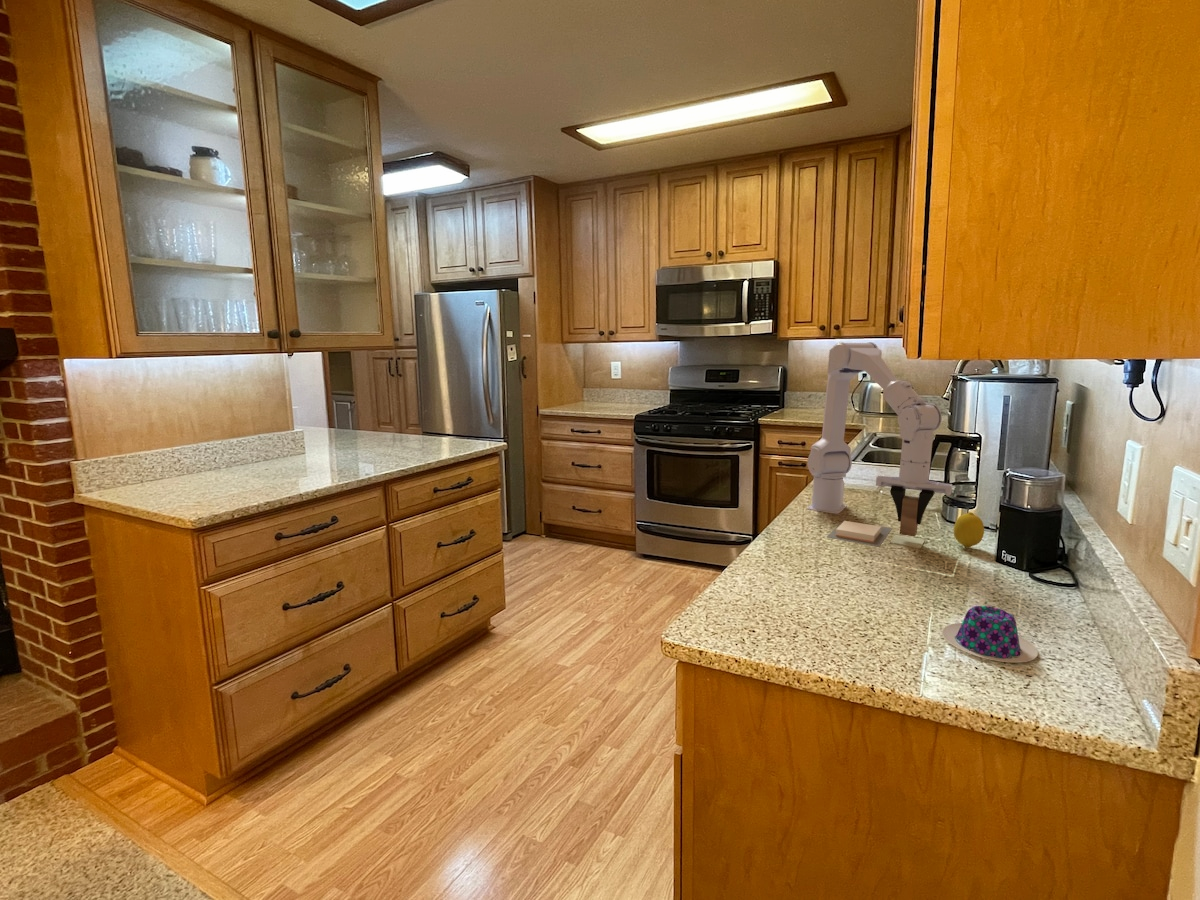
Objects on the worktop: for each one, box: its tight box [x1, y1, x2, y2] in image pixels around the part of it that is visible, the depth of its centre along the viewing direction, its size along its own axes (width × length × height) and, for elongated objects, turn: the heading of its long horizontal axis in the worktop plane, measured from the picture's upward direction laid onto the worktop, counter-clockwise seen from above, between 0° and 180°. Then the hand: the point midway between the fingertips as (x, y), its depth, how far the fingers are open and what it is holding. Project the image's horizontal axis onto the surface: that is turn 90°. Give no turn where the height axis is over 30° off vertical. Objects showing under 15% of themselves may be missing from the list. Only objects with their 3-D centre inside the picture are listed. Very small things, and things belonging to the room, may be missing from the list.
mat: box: [826, 519, 893, 547], centre depth 142 cm, size 16×11×1 cm
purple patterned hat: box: [941, 605, 1039, 663], centre depth 90 cm, size 12×12×5 cm
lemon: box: [953, 511, 985, 549], centre depth 132 cm, size 6×6×8 cm
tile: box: [836, 520, 882, 543], centre depth 140 cm, size 2×8×8 cm
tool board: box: [890, 534, 926, 549], centre depth 135 cm, size 6×6×1 cm
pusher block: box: [899, 495, 919, 538], centre depth 134 cm, size 3×3×8 cm
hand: (909, 521), depth 134 cm, fingers closed on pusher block, 3 cm apart
